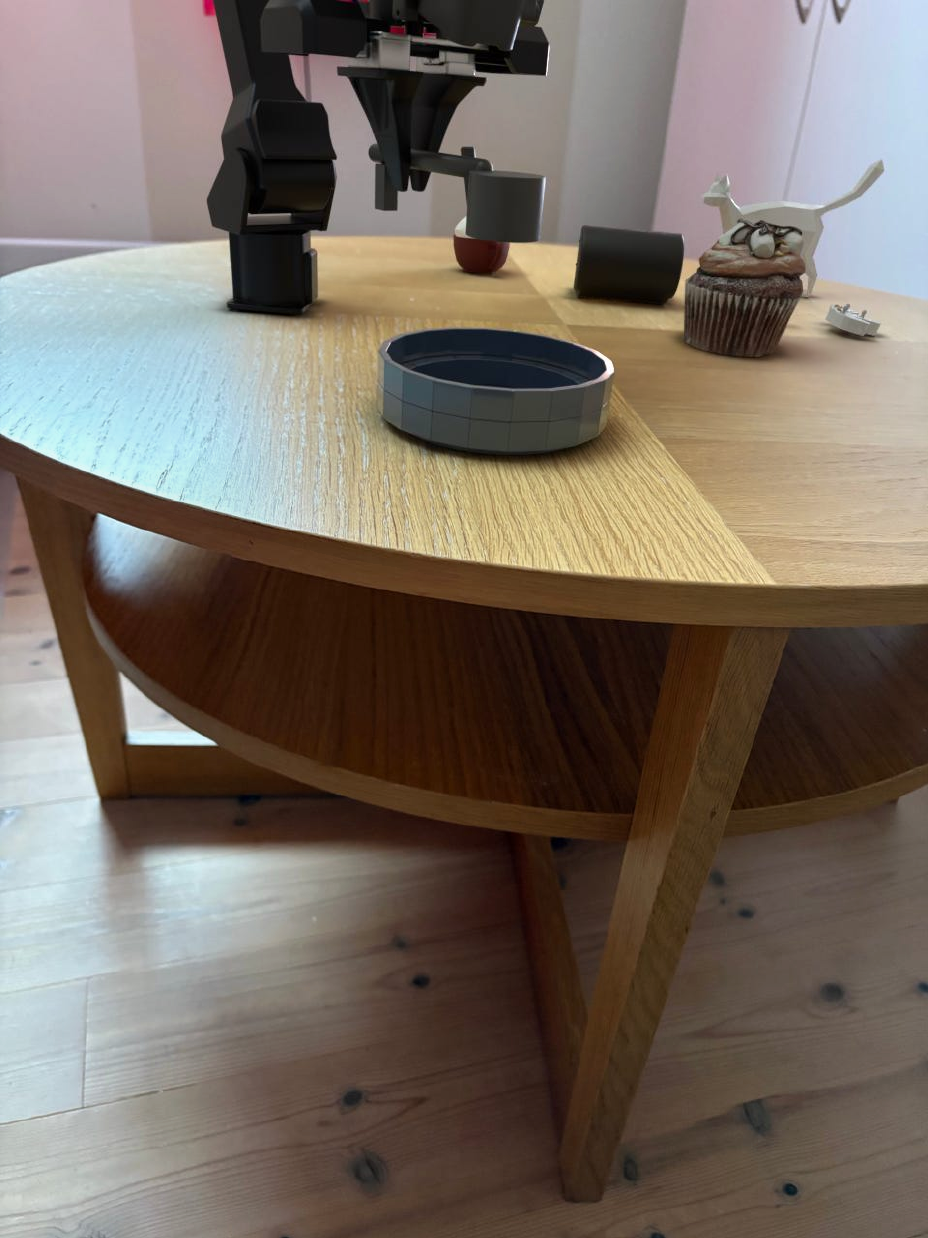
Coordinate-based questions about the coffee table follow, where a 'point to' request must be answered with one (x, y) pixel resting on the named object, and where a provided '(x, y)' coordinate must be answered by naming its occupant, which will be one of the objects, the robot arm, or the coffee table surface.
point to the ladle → (477, 194)
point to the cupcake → (745, 290)
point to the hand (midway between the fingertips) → (409, 191)
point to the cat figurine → (787, 213)
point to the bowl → (493, 389)
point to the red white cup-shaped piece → (477, 243)
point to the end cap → (628, 264)
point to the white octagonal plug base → (851, 320)
